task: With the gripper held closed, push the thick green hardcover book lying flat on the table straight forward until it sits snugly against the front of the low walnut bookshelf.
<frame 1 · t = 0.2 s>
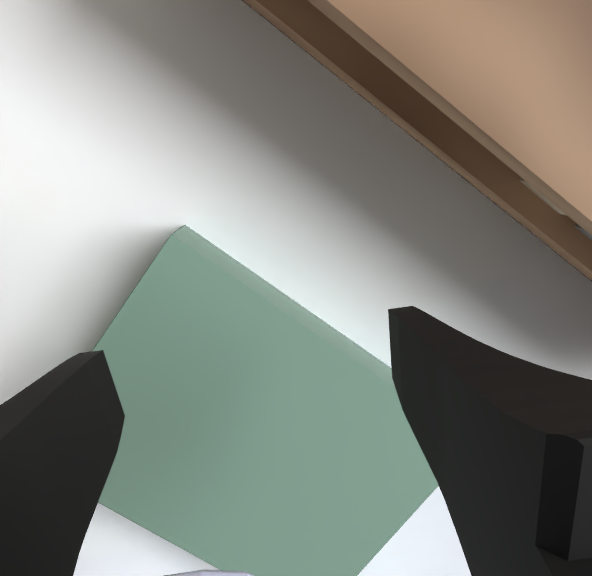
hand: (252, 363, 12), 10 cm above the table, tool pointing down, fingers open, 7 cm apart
green book: (254, 411, 25), on the table
bookshelf: (508, 87, 21), on the table
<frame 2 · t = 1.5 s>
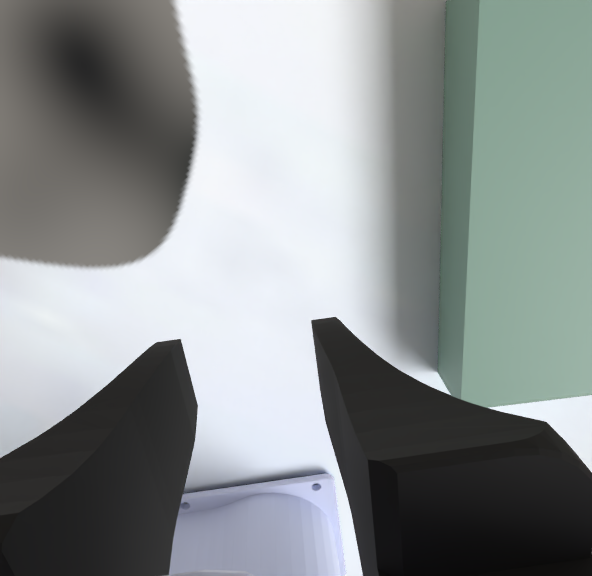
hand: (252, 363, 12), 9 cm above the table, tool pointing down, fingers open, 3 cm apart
green book: (572, 197, 21), on the table
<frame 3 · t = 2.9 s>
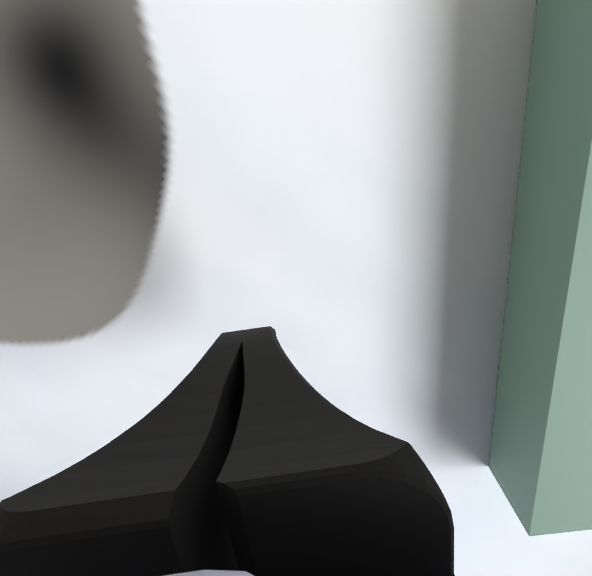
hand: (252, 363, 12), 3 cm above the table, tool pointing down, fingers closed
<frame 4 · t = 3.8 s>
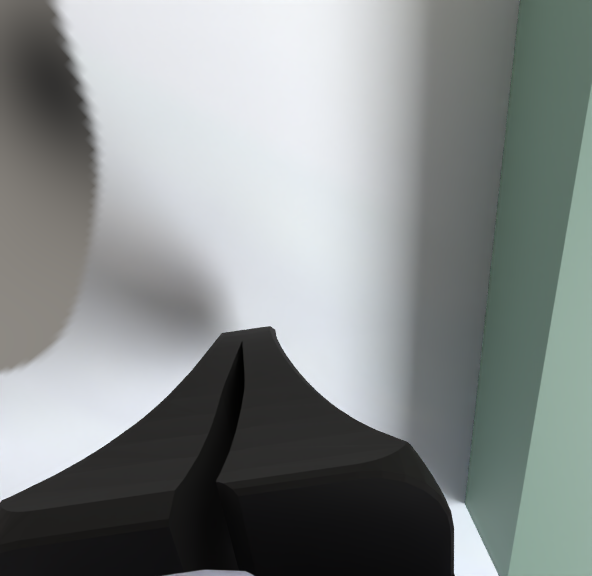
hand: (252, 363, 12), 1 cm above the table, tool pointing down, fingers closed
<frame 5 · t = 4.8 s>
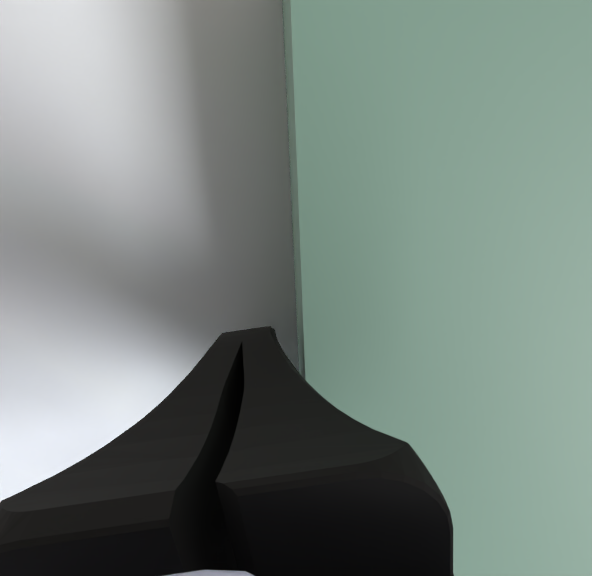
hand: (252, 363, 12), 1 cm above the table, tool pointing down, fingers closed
green book: (502, 294, 14), on the table, touching gripper
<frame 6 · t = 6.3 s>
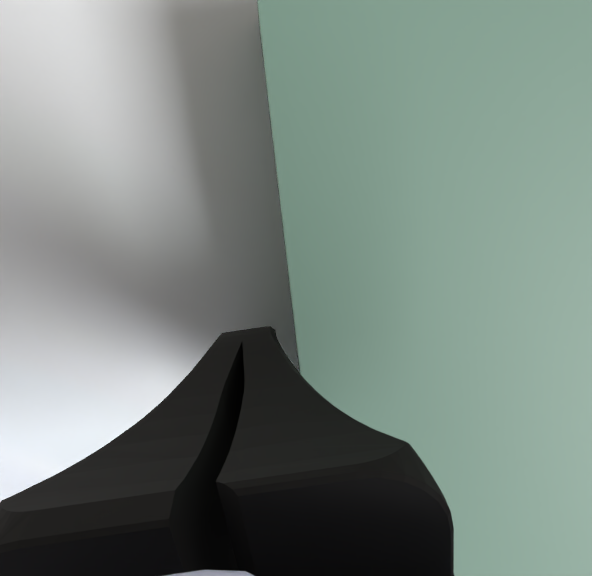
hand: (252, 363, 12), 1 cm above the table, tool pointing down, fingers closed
green book: (497, 307, 14), on the table
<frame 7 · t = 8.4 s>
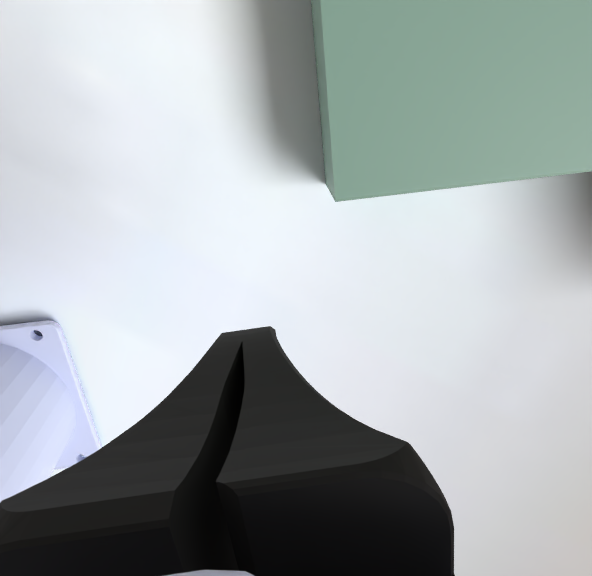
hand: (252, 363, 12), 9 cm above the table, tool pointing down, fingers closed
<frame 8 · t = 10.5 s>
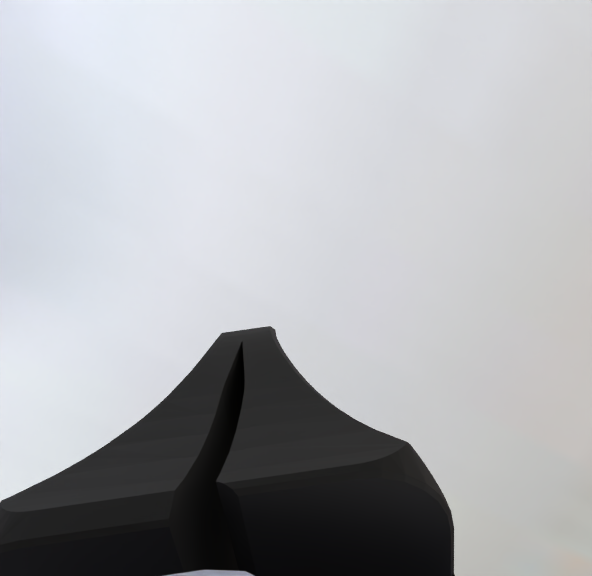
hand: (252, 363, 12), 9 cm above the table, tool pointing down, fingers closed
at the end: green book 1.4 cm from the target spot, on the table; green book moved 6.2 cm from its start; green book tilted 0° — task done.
